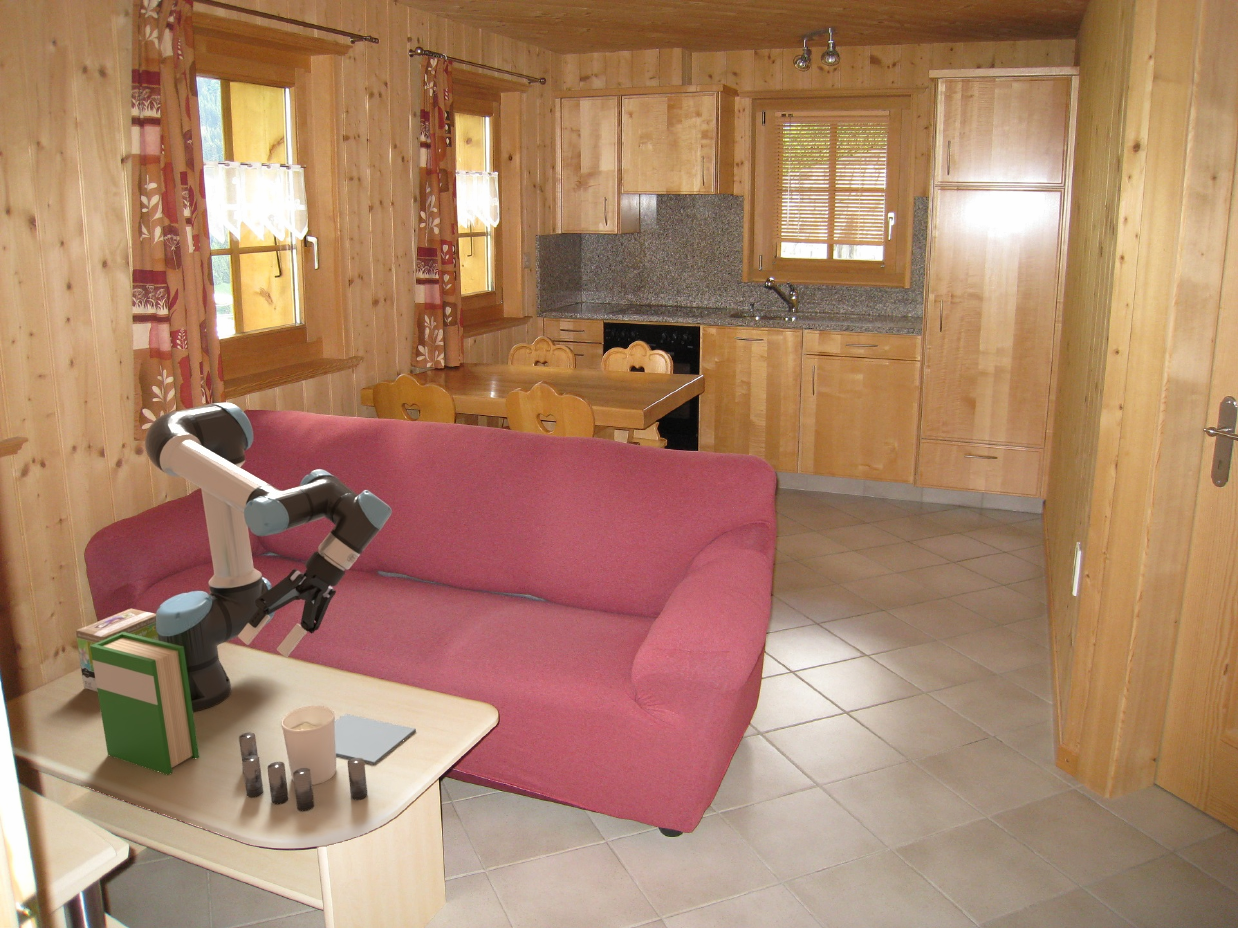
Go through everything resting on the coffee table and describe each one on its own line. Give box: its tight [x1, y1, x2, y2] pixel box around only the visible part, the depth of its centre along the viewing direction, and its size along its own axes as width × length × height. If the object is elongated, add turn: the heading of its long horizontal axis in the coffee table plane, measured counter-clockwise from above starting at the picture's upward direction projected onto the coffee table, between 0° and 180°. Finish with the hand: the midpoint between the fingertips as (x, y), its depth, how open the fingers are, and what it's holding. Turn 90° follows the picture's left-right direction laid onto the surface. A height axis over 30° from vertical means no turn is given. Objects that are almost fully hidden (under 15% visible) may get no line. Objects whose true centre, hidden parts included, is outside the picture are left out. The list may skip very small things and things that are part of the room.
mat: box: [335, 713, 417, 765], centre depth 207 cm, size 18×14×1 cm
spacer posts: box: [238, 731, 368, 812], centre depth 188 cm, size 29×10×7 cm, turn 66°
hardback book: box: [90, 632, 200, 776], centre depth 199 cm, size 18×7×24 cm, turn 63°
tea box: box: [75, 608, 159, 693], centre depth 235 cm, size 15×10×15 cm, turn 155°
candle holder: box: [280, 705, 337, 786], centre depth 193 cm, size 10×10×12 cm
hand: (262, 647), depth 197 cm, fingers open, 13 cm apart
